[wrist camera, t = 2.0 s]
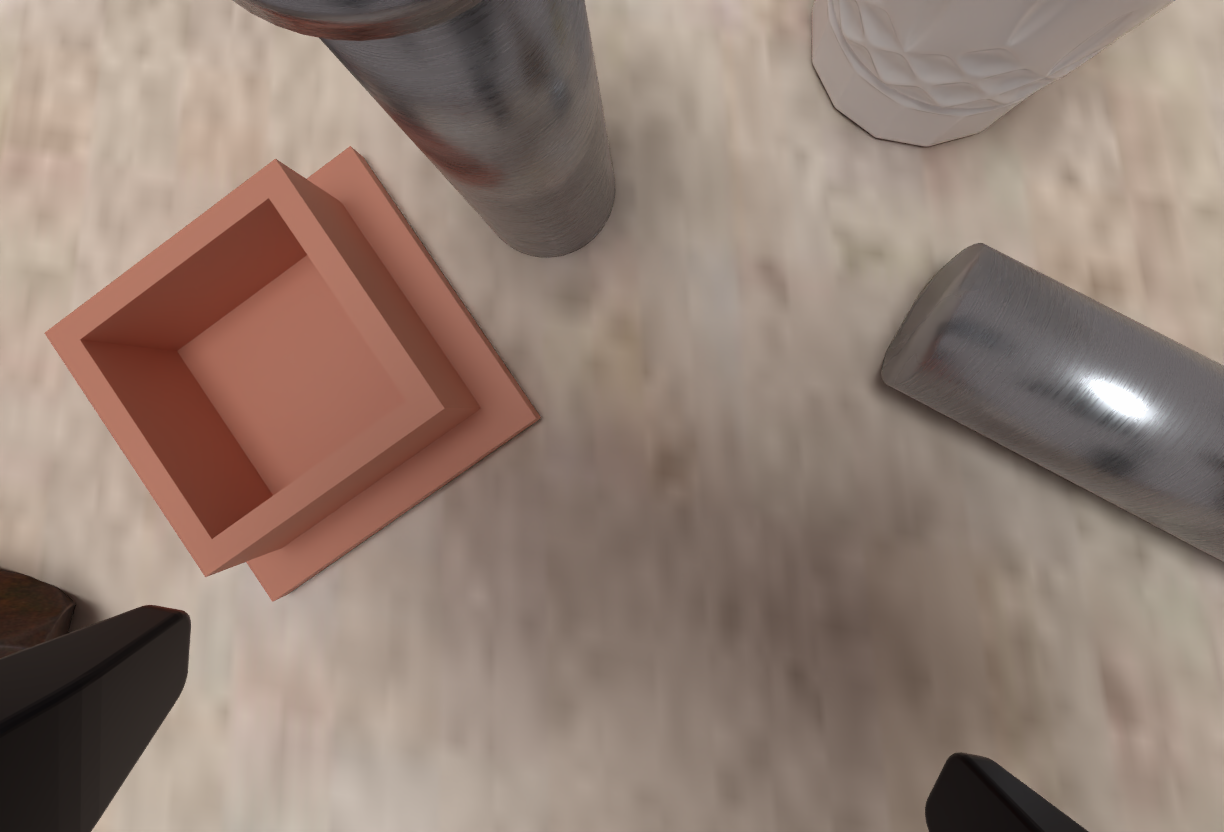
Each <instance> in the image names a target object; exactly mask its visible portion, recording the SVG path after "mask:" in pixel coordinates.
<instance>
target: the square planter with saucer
mask: <svg viewBox="0 0 1224 832" xmlns="http://www.w3.org/2000/svg"><path fill="white" fill-rule="evenodd" d="M45 334H46V336H47V338H48V339H49V341H50V342H51V344H52V345H53V347H54V348H55V350H56V351H57V353H58V354H59V356H60V357H61V359H62V360H63V362H64V363H65V365H66V366H67V368H68V369H69V371H70V372H71V374H72V375H73V377H74V378H75V380H76V381H77V383H78V385H79V386H80V388H81V389H82V391H83V392H84V394H85V395H86V397H87V398H88V400H89V401H90V403H91V404H92V406H93V407H94V409H95V410H96V412H97V413H98V415H99V416H100V418H101V419H102V421H103V422H104V424H105V425H106V427H107V429H108V430H109V432H110V433H111V435H112V436H113V438H114V439H115V441H116V442H117V444H118V445H119V447H120V448H121V450H122V451H123V453H124V454H125V456H126V457H127V459H128V460H129V462H130V463H131V465H132V466H133V468H134V469H135V471H136V472H137V474H138V476H139V477H140V479H141V480H142V482H143V483H144V485H145V486H146V488H147V489H148V491H149V492H150V494H151V495H152V497H153V498H154V500H155V501H156V503H157V504H158V506H159V507H160V509H161V510H162V512H163V513H164V515H165V516H166V518H167V519H168V521H169V523H170V524H171V526H172V527H173V529H174V530H175V532H176V533H177V535H178V536H179V538H180V539H181V541H182V542H183V544H184V545H185V547H186V548H187V550H188V551H189V553H190V554H191V556H192V557H193V559H194V560H195V562H196V563H197V565H198V566H199V568H200V570H201V571H202V573H203V574H204V576H205V577H207V576H210V575H212V574H215V573H218V572H220V571H223V570H225V569H228V568H231V567H233V566H236V565H239V564H241V563H244V562H247V564H248V565H249V567H250V568H251V570H252V571H253V573H254V574H255V576H256V577H257V579H258V580H259V582H260V583H261V585H262V586H263V588H264V589H265V591H266V592H267V594H268V595H269V597H270V598H271V600H272V601H275V600H277V599H279V598H281V597H283V596H285V595H287V594H289V593H290V592H292V591H293V590H294V589H296V588H297V587H299V586H300V585H302V584H303V583H305V582H306V581H307V580H309V579H310V578H312V577H313V576H315V575H316V574H317V573H319V572H320V571H322V570H323V569H325V568H326V567H328V566H329V565H330V564H332V563H333V562H335V561H336V560H338V559H339V558H341V557H342V556H343V555H345V554H346V553H348V552H349V551H351V550H352V549H353V548H355V547H356V546H358V545H359V544H361V543H362V542H364V541H365V540H366V539H368V538H369V537H371V536H372V535H374V534H375V533H376V532H378V531H379V530H381V529H382V528H384V527H385V526H387V525H388V524H389V523H391V522H392V521H394V520H395V519H397V518H398V517H400V516H401V515H402V514H404V513H405V512H407V511H408V510H410V509H411V508H412V507H414V506H415V505H417V504H418V503H420V502H421V501H423V500H424V499H425V498H427V497H428V496H430V495H431V494H433V493H434V492H435V491H437V490H438V489H440V488H441V487H443V486H444V485H446V484H447V483H448V482H450V481H451V480H453V479H454V478H456V477H457V476H459V475H460V474H461V473H463V472H464V471H466V470H467V469H469V468H470V467H471V466H473V465H474V464H476V463H477V462H479V461H480V460H482V459H483V458H484V457H486V456H487V455H489V454H490V453H492V452H493V451H494V450H496V449H497V448H499V447H500V446H502V445H503V444H505V443H506V442H507V441H509V440H510V439H512V438H513V437H515V436H516V435H517V434H519V433H520V432H522V431H523V430H525V429H526V428H528V427H529V426H530V425H532V424H533V423H535V422H536V421H538V420H539V419H541V417H540V416H539V414H538V413H537V411H536V410H535V408H534V407H533V405H532V404H531V402H530V401H529V399H528V398H527V397H526V395H525V394H524V392H523V391H522V389H521V388H520V386H519V385H518V383H517V382H516V380H515V379H514V378H513V376H512V375H511V373H510V372H509V370H508V369H507V367H506V366H505V364H504V363H503V361H502V360H501V358H500V357H499V356H498V354H497V353H496V351H495V350H494V348H493V347H492V345H491V344H490V342H489V341H488V339H487V338H486V337H485V335H484V334H483V332H482V331H481V329H480V328H479V326H478V325H477V323H476V322H475V320H474V319H473V317H472V316H471V315H470V313H469V312H468V310H467V309H466V307H465V306H464V304H463V303H462V301H461V300H460V298H459V297H458V295H457V294H456V293H455V291H454V290H453V288H452V287H451V285H450V284H449V282H448V281H447V279H446V278H445V276H444V275H443V274H442V272H441V271H440V269H439V268H438V266H437V265H436V263H435V262H434V260H433V259H432V257H431V256H430V254H429V253H428V252H427V250H426V249H425V247H424V246H423V244H422V243H421V241H420V240H419V238H418V237H417V235H416V234H415V232H414V231H413V230H412V228H411V227H410V225H409V224H408V222H407V221H406V219H405V218H404V216H403V215H402V213H401V212H400V211H399V209H398V208H397V206H396V205H395V203H394V202H393V200H392V199H391V197H390V196H389V194H388V193H387V191H386V190H385V189H384V187H383V186H382V184H381V183H380V181H379V180H378V178H377V177H376V175H375V174H374V172H373V171H372V170H371V168H370V167H369V165H368V164H367V162H366V161H365V159H364V158H363V157H362V156H361V155H360V154H359V153H358V152H357V151H355V150H354V149H353V148H352V147H351V146H350V147H349V148H347V149H346V150H345V151H343V152H342V153H341V154H339V155H338V156H337V157H335V158H334V159H333V160H331V161H330V162H329V163H327V164H326V165H325V166H323V167H322V168H320V169H319V170H318V171H316V172H315V173H314V174H312V175H311V176H310V177H308V178H307V179H305V178H304V177H302V176H301V175H299V174H298V173H296V172H295V171H293V170H292V169H290V168H289V167H287V166H286V165H284V164H283V163H281V162H280V161H278V160H277V159H274V160H273V161H272V162H270V163H269V164H268V165H267V166H265V167H264V168H263V169H261V170H260V171H259V172H257V173H256V174H255V175H253V176H252V177H251V178H249V179H248V180H247V181H245V182H244V183H243V184H241V185H240V186H239V187H237V188H236V189H235V190H233V191H232V192H231V193H229V194H228V195H227V196H225V197H224V198H223V199H221V200H220V201H219V202H217V203H216V204H215V205H213V206H212V207H211V208H210V209H208V210H207V211H206V212H204V213H203V214H202V215H200V216H199V217H198V218H196V219H195V220H194V221H192V222H191V223H190V224H188V225H187V226H186V227H184V228H183V229H182V230H180V231H179V232H178V233H176V234H175V235H174V236H172V237H171V238H170V239H168V240H167V241H166V242H164V243H163V244H162V245H160V246H159V247H158V248H157V249H155V250H154V251H153V252H151V253H150V254H149V255H147V256H146V257H145V258H143V259H142V260H141V261H139V262H138V263H137V264H135V265H134V266H133V267H131V268H130V269H129V270H127V271H126V272H125V273H123V274H122V275H121V276H119V277H118V278H117V279H115V280H114V281H113V282H111V283H110V284H109V285H107V286H106V287H105V288H103V289H102V290H101V291H100V292H98V293H97V294H96V295H94V296H93V297H92V298H90V299H89V300H88V301H86V302H85V303H84V304H82V305H81V306H80V307H78V308H77V309H76V310H74V311H73V312H72V313H70V314H69V315H68V316H66V317H65V318H64V319H62V320H61V321H60V322H58V323H57V324H56V325H54V326H53V327H52V328H50V329H49V330H48V331H46V332H45Z"/></svg>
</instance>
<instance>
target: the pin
mask: <svg viewBox="0 0 1224 832" xmlns="http://www.w3.org/2000/svg"><path fill="white" fill-rule="evenodd" d="M882 379H883V382H884V383H885V384H887V385H889V386H891V387H892V388H894V389H896V390H898V391H900V392H902V393H904V394H906V395H908V396H910V397H911V398H913V399H915V400H917V401H919V402H921V403H923V404H925V405H927V406H929V407H930V408H932V409H934V410H936V411H938V412H940V413H942V414H944V415H946V416H947V417H949V418H951V419H953V420H955V421H957V422H959V423H961V424H963V425H965V426H966V427H968V428H970V429H972V430H974V431H976V432H978V433H980V434H982V435H984V436H985V437H987V438H989V439H991V440H993V441H995V442H997V443H999V444H1001V445H1003V446H1004V447H1006V448H1008V449H1010V450H1012V451H1014V452H1016V453H1018V454H1020V455H1022V456H1023V457H1025V458H1027V459H1029V460H1031V461H1033V462H1035V463H1037V464H1039V465H1040V466H1042V467H1044V468H1046V469H1048V470H1050V471H1052V472H1054V473H1056V474H1058V475H1059V476H1061V477H1063V478H1065V479H1067V480H1069V481H1071V482H1073V483H1075V484H1077V485H1078V486H1080V487H1082V488H1084V489H1086V490H1088V491H1090V492H1092V493H1094V494H1096V495H1097V496H1099V497H1101V498H1103V499H1105V500H1107V501H1109V502H1111V503H1113V504H1114V505H1116V506H1118V507H1120V508H1122V509H1124V510H1126V511H1128V512H1130V513H1132V514H1133V515H1135V516H1137V517H1139V518H1141V519H1143V520H1145V521H1147V522H1149V523H1151V524H1152V525H1154V526H1156V527H1158V528H1160V529H1162V530H1164V531H1166V532H1168V533H1170V534H1171V535H1173V536H1175V537H1177V538H1179V539H1181V540H1183V541H1185V542H1187V543H1189V544H1190V545H1192V546H1194V547H1196V548H1198V549H1200V550H1202V551H1204V552H1206V553H1207V554H1209V555H1211V556H1213V557H1215V558H1217V559H1219V560H1221V561H1223V562H1224V366H1223V365H1221V364H1219V363H1217V362H1215V361H1213V360H1211V359H1209V358H1207V357H1205V356H1203V355H1201V354H1200V353H1198V352H1196V351H1194V350H1192V349H1190V348H1188V347H1186V346H1184V345H1182V344H1180V343H1178V342H1176V341H1174V340H1172V339H1170V338H1168V337H1166V336H1164V335H1162V334H1160V333H1158V332H1156V331H1154V330H1152V329H1150V328H1148V327H1146V326H1144V325H1143V324H1141V323H1139V322H1137V321H1135V320H1133V319H1131V318H1129V317H1127V316H1125V315H1123V314H1121V313H1119V312H1117V311H1115V310H1113V309H1111V308H1109V307H1107V306H1105V305H1103V304H1101V303H1099V302H1097V301H1095V300H1093V299H1091V298H1089V297H1088V296H1086V295H1084V294H1082V293H1080V292H1078V291H1076V290H1074V289H1072V288H1070V287H1068V286H1066V285H1064V284H1062V283H1060V282H1058V281H1056V280H1054V279H1052V278H1050V277H1048V276H1046V275H1044V274H1042V273H1040V272H1038V271H1036V270H1034V269H1032V268H1031V267H1029V266H1027V265H1025V264H1023V263H1021V262H1019V261H1017V260H1015V259H1013V258H1011V257H1009V256H1007V255H1005V254H1003V253H1001V252H999V251H997V250H995V249H993V248H991V247H989V246H987V245H985V244H983V243H977V244H974V245H971V246H969V247H967V248H966V249H964V250H963V251H961V252H960V253H959V254H957V255H956V256H955V257H954V258H952V259H951V260H950V261H949V262H948V263H947V264H946V265H945V266H944V267H943V268H942V269H941V270H940V271H939V272H938V273H937V274H936V275H935V276H934V278H933V279H932V280H931V281H930V282H929V283H928V285H927V286H926V287H925V288H924V290H923V291H922V292H921V293H920V295H919V296H918V297H917V299H916V300H915V302H914V303H913V305H912V307H911V309H910V311H909V312H908V314H907V316H906V318H905V320H904V321H903V323H902V325H901V327H900V328H899V330H898V332H897V334H896V336H895V337H894V339H893V341H892V343H891V344H890V346H889V348H888V350H887V352H886V355H885V358H884V362H883V366H882Z"/></svg>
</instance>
